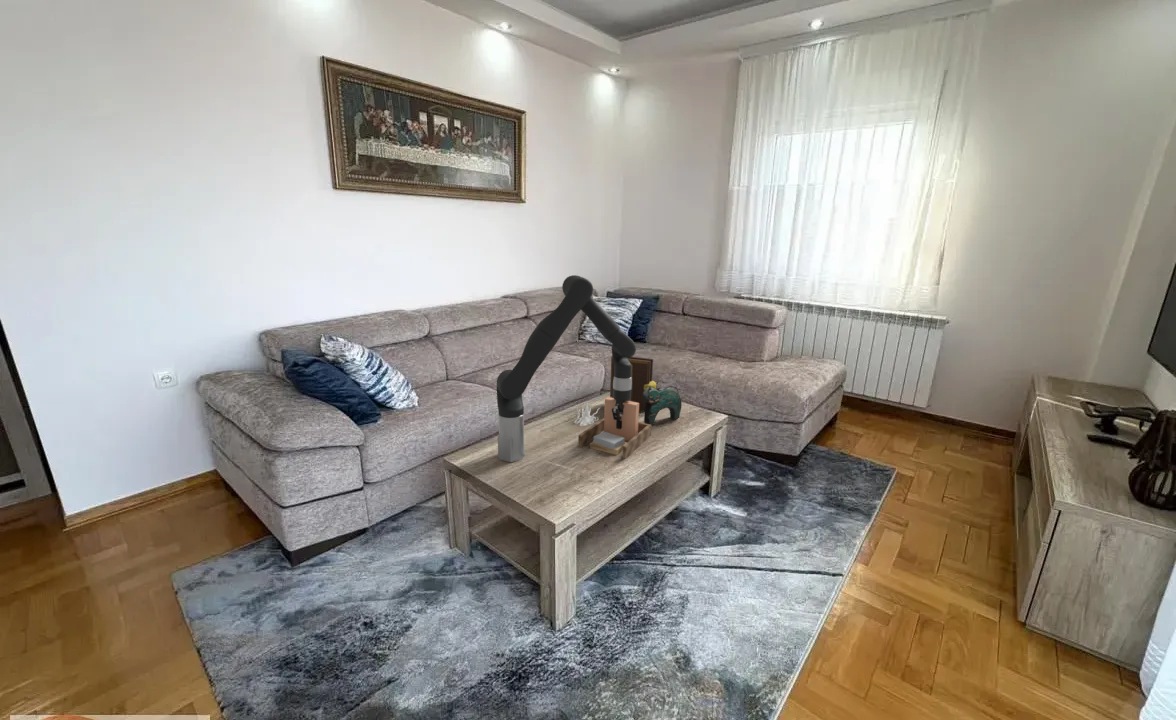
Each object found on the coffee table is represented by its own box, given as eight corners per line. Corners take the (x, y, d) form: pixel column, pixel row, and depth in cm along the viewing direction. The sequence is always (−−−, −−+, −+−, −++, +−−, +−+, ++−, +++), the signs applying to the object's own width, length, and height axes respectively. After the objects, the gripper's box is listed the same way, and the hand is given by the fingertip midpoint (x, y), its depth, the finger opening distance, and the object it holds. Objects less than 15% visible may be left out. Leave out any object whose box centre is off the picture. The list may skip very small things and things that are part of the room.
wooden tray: (625, 459, 184) (625, 446, 182) (578, 446, 193) (578, 435, 192) (651, 435, 205) (651, 424, 204) (607, 426, 215) (607, 415, 213)
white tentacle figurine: (570, 423, 218) (570, 403, 215) (588, 415, 227) (588, 396, 224) (586, 428, 212) (586, 408, 210) (603, 420, 221) (603, 401, 219)
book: (607, 408, 237) (609, 357, 230) (613, 402, 244) (615, 353, 238) (652, 415, 229) (655, 363, 222) (656, 409, 236) (659, 358, 230)
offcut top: (614, 449, 187) (614, 443, 187) (593, 442, 193) (593, 436, 193) (624, 443, 193) (624, 438, 192) (603, 437, 199) (604, 431, 198)
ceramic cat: (646, 428, 213) (649, 384, 208) (638, 423, 218) (640, 380, 213) (682, 420, 222) (685, 378, 217) (673, 416, 228) (676, 374, 223)
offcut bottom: (617, 456, 187) (617, 450, 187) (589, 449, 193) (589, 443, 192) (627, 448, 195) (627, 442, 194) (600, 441, 201) (600, 435, 200)
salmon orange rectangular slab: (634, 442, 198) (636, 405, 194) (603, 435, 205) (604, 398, 201) (637, 439, 201) (639, 402, 197) (607, 432, 207) (608, 396, 203)
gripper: (623, 393, 190) (621, 435, 194) (638, 384, 202) (636, 423, 206) (606, 390, 193) (604, 431, 198) (621, 381, 205) (620, 420, 209)
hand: (620, 426), depth 202 cm, fingers closed on salmon orange rectangular slab, 3 cm apart
